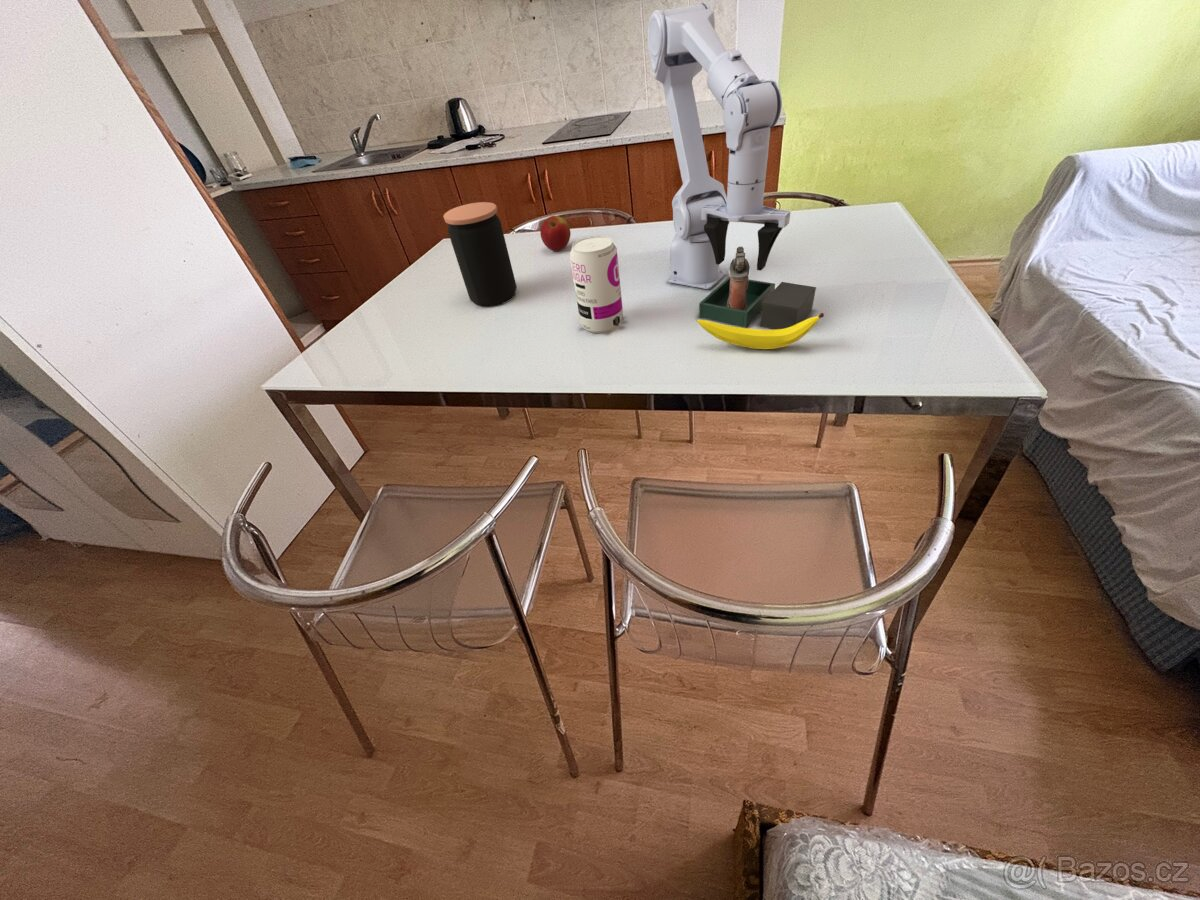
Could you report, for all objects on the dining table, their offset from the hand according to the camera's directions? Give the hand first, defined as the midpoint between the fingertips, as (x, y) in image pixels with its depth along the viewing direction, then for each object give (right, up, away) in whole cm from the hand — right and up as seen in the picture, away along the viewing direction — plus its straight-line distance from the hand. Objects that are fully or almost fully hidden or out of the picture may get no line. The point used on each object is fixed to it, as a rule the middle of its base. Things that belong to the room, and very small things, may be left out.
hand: (740, 265), depth 85 cm
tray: (+1, -6, +5) cm, 8 cm away
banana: (+1, -16, -5) cm, 17 cm away
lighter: (+1, -6, +5) cm, 8 cm away
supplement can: (-24, -9, +7) cm, 27 cm away
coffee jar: (-48, +1, +22) cm, 53 cm away
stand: (+8, -9, 0) cm, 12 cm away
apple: (-35, +19, +39) cm, 56 cm away
